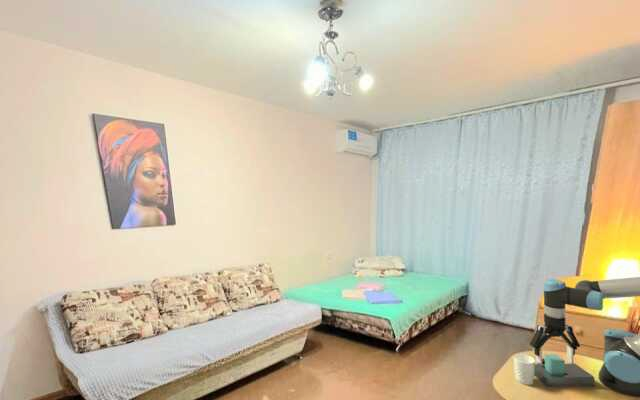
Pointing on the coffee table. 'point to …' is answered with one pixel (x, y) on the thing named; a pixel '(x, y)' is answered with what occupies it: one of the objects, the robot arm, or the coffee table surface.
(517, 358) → the white cup
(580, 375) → the grey slotted board
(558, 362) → the teal block
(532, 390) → the coffee table surface
